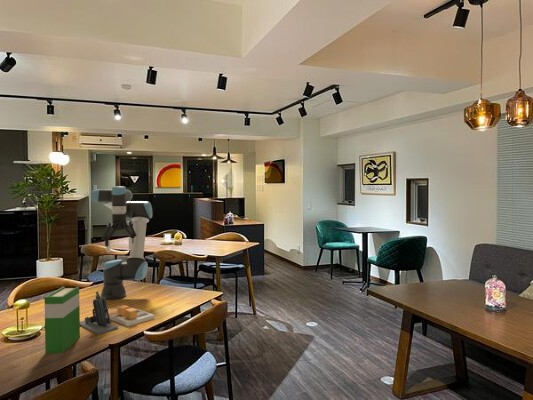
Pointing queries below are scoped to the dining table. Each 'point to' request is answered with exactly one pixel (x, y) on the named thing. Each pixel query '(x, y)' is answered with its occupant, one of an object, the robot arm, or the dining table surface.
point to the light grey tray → (140, 318)
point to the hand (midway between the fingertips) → (119, 250)
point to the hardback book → (62, 319)
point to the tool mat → (98, 327)
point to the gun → (99, 312)
